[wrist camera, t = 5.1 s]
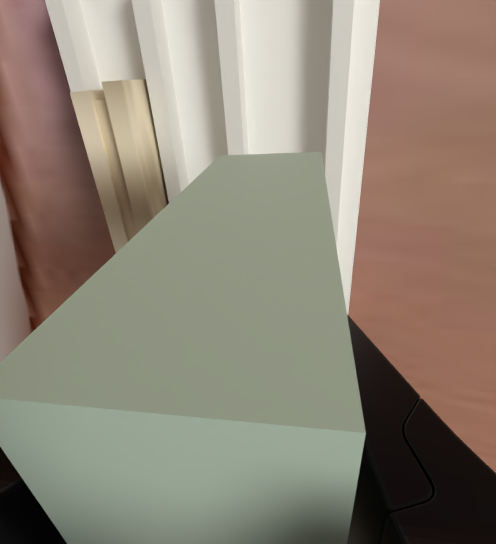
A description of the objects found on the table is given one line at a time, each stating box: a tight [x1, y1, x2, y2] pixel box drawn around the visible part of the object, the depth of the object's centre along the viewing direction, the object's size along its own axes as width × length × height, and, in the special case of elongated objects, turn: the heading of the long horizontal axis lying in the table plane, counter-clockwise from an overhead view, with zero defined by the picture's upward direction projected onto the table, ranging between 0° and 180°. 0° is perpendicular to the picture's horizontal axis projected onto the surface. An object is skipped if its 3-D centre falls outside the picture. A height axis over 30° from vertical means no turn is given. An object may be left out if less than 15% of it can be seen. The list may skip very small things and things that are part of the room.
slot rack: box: [45, 0, 380, 315], centre depth 19 cm, size 20×15×2 cm
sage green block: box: [0, 152, 366, 544], centre depth 8 cm, size 6×3×9 cm, turn 4°
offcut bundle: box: [70, 79, 169, 253], centre depth 19 cm, size 11×3×4 cm, turn 4°
